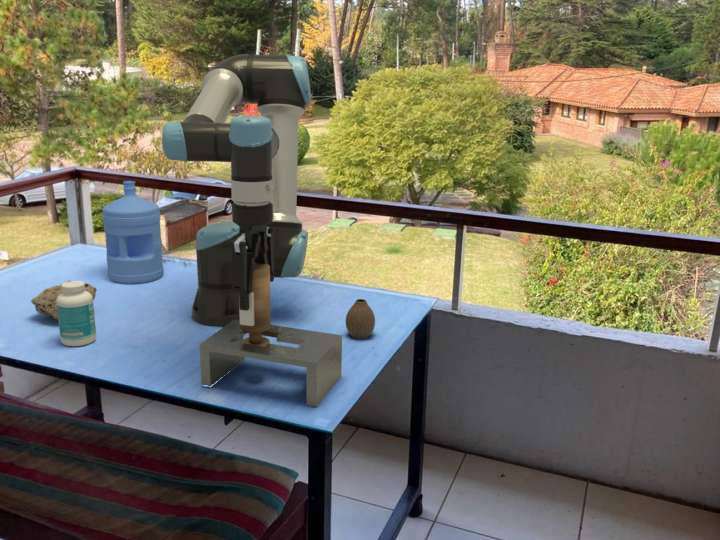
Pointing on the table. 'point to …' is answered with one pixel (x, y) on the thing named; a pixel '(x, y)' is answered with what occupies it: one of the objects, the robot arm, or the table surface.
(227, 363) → the keyhole plate
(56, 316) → the pumice stone
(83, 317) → the pill bottle
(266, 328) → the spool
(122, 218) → the water jug
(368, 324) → the vase
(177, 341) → the table surface
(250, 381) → the table surface
